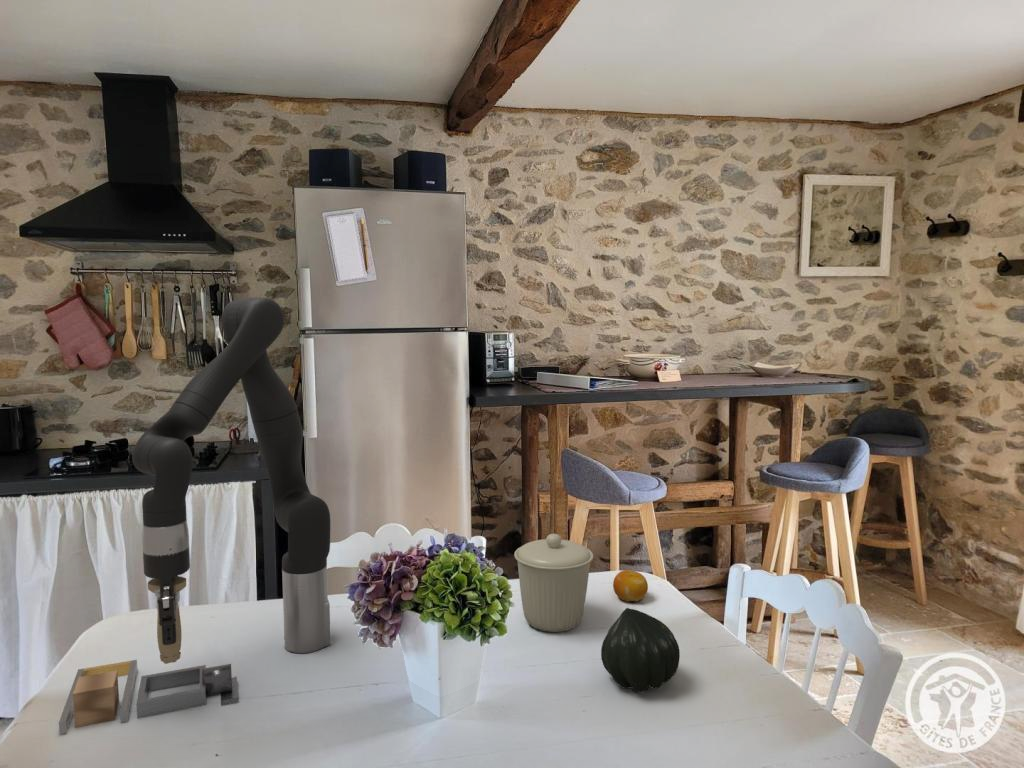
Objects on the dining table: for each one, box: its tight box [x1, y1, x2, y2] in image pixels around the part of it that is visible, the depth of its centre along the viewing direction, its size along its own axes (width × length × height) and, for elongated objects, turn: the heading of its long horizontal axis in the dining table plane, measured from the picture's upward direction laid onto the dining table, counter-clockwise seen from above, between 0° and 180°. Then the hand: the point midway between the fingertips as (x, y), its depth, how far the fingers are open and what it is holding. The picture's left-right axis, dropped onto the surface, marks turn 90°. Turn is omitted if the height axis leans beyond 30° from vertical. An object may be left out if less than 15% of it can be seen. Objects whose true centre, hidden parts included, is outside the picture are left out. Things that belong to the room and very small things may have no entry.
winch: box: [136, 663, 240, 719], centre depth 132 cm, size 16×10×6 cm, turn 113°
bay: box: [58, 659, 138, 736], centre depth 130 cm, size 10×19×4 cm, turn 23°
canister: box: [514, 533, 594, 633], centre depth 164 cm, size 18×18×21 cm
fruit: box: [612, 569, 649, 602], centre depth 179 cm, size 8×8×8 cm
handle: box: [147, 575, 187, 665], centre depth 129 cm, size 5×6×15 cm
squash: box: [600, 607, 681, 693], centre depth 139 cm, size 14×15×15 cm
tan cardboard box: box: [73, 671, 120, 728], centre depth 125 cm, size 6×6×6 cm
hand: (170, 637), depth 130 cm, fingers closed on handle, 4 cm apart
